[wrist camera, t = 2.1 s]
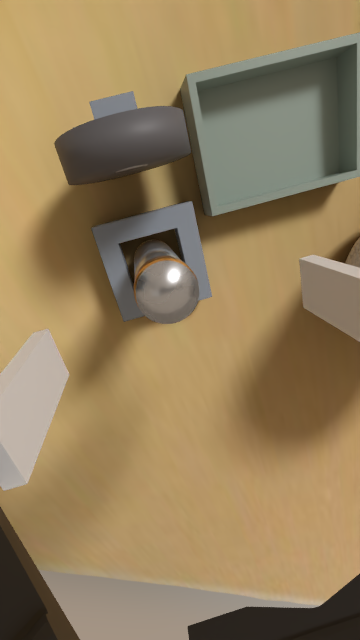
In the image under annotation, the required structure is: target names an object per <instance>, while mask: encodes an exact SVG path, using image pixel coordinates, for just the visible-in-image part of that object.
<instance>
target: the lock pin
mask: <svg viewBox="0 0 360 640" xmlns="http://www.w3.org/2000/svg"><path fill="white" fill-rule="evenodd" d="M134 273H135V280H134V297H135V301H136V303H137V305H138V307H139V309H140V310H141V311H142V313H143V314H144V315H145V316H146V317H147V318H149V319H150V320H152V321H154V322H157V323H162V324H172V323H176V322H179V321H181V320H183V319H185V318H186V317H188V316H189V315H190V314H191V313H192V312H193V310H194V309H195V307H196V305H197V303H198V299H199V285H198V280H197V278H196V275H195V274H194V272H193V271H192V270H191V269H190V267H189V266H188V265H187V264H186V263H185V262H183V261H182V260H180V258H179V257H178V256H177V255H176V254H175V253H174V252H173V250H172V249H171V248H170V247H169V246H168V245H167V244H166V243H164V242H163V241H160V240H155V239H153V240H147V241H145V242H143V243H142V244H141V245H139V247H138V248H137V249H136V251H135V254H134Z"/></svg>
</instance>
